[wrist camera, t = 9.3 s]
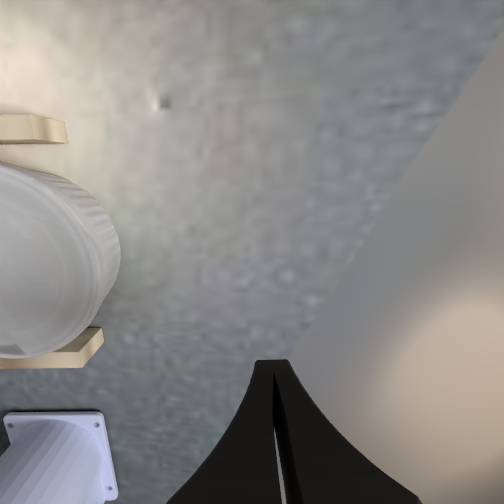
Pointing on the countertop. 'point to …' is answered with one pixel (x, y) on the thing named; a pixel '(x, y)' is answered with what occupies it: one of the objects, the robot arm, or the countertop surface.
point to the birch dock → (90, 339)
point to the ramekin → (50, 261)
